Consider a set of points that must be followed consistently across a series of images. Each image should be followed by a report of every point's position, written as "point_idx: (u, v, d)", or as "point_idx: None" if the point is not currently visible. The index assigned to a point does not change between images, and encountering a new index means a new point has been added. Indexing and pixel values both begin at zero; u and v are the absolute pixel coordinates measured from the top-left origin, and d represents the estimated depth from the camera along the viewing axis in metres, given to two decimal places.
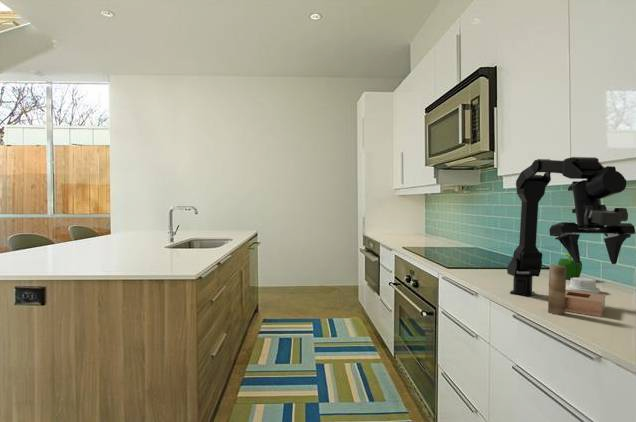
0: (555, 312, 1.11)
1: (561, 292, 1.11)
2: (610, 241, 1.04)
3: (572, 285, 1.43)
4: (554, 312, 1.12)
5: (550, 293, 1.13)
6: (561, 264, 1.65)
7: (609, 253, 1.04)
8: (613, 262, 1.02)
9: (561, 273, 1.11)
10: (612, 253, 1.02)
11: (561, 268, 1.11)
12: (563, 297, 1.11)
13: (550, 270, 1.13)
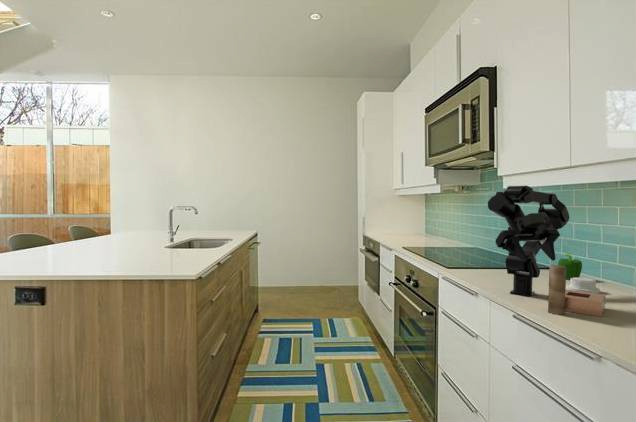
0: (555, 312, 1.11)
1: (561, 292, 1.11)
2: (544, 245, 1.25)
3: (572, 285, 1.43)
4: (554, 312, 1.12)
5: (550, 293, 1.13)
6: (561, 264, 1.65)
7: (547, 254, 1.23)
8: (553, 258, 1.21)
9: (561, 273, 1.11)
10: (549, 252, 1.23)
11: (561, 268, 1.11)
12: (563, 297, 1.11)
13: (550, 270, 1.13)
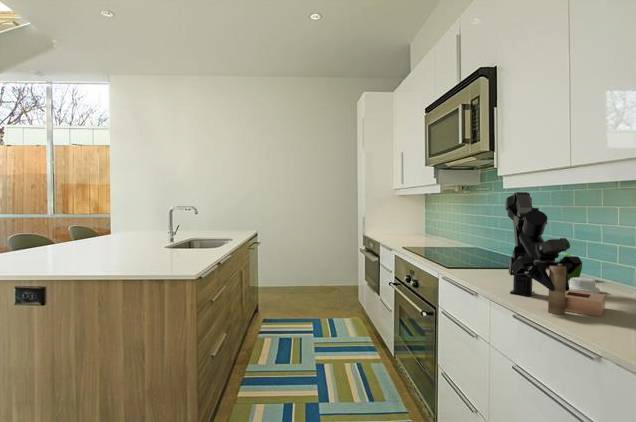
0: (555, 312, 1.11)
1: (561, 292, 1.11)
2: None
3: (572, 285, 1.43)
4: (554, 312, 1.12)
5: (550, 293, 1.13)
6: None
7: None
8: (566, 288, 1.12)
9: (561, 273, 1.11)
10: None
11: (561, 268, 1.11)
12: (563, 297, 1.11)
13: (550, 270, 1.13)
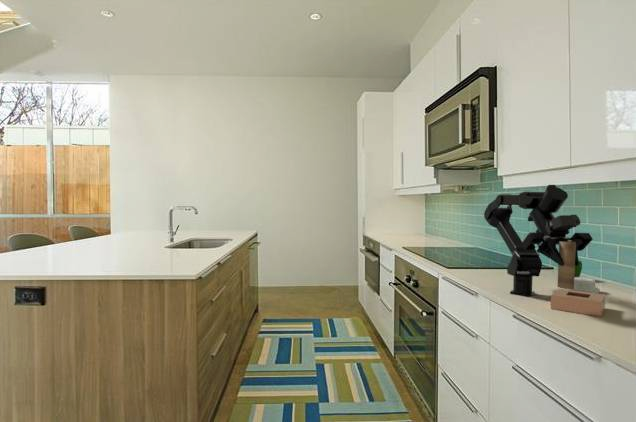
0: (564, 286, 1.14)
1: (570, 266, 1.13)
2: None
3: None
4: (563, 286, 1.14)
5: (559, 268, 1.15)
6: None
7: None
8: (576, 263, 1.14)
9: (571, 248, 1.13)
10: None
11: (571, 243, 1.13)
12: (572, 272, 1.14)
13: (560, 245, 1.15)
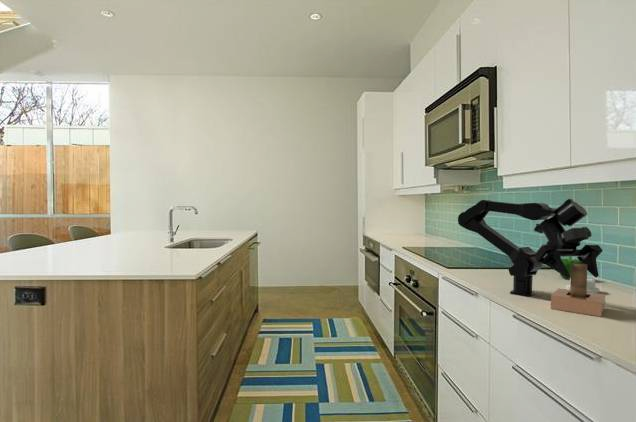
0: None
1: (582, 288, 1.16)
2: (586, 261, 1.22)
3: None
4: None
5: (572, 289, 1.18)
6: None
7: (589, 270, 1.20)
8: (596, 275, 1.17)
9: (583, 270, 1.16)
10: (592, 268, 1.19)
11: (582, 265, 1.16)
12: (584, 293, 1.16)
13: (572, 267, 1.18)
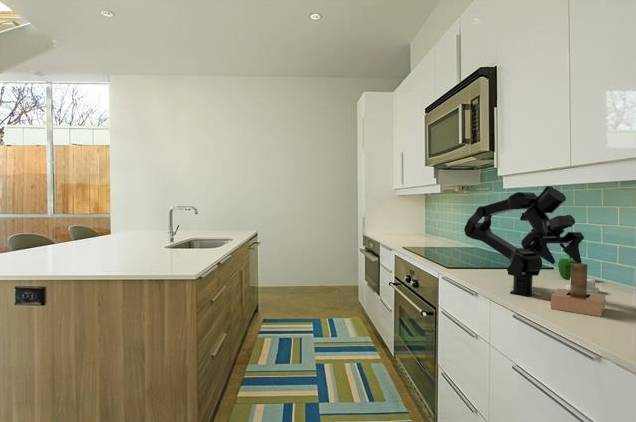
0: None
1: (582, 288, 1.16)
2: (569, 248, 1.25)
3: None
4: None
5: (572, 289, 1.18)
6: (561, 264, 1.65)
7: (572, 257, 1.23)
8: (578, 261, 1.21)
9: (583, 270, 1.16)
10: (574, 255, 1.23)
11: (583, 265, 1.16)
12: (585, 293, 1.16)
13: (572, 267, 1.18)
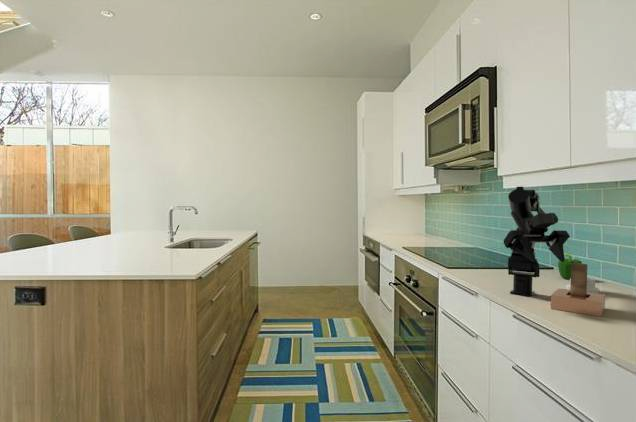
0: None
1: (582, 288, 1.16)
2: (554, 246, 1.24)
3: None
4: None
5: (572, 289, 1.18)
6: (561, 264, 1.65)
7: (556, 255, 1.22)
8: (562, 259, 1.19)
9: (583, 270, 1.16)
10: (558, 253, 1.21)
11: (583, 265, 1.16)
12: (585, 293, 1.16)
13: (572, 267, 1.18)
